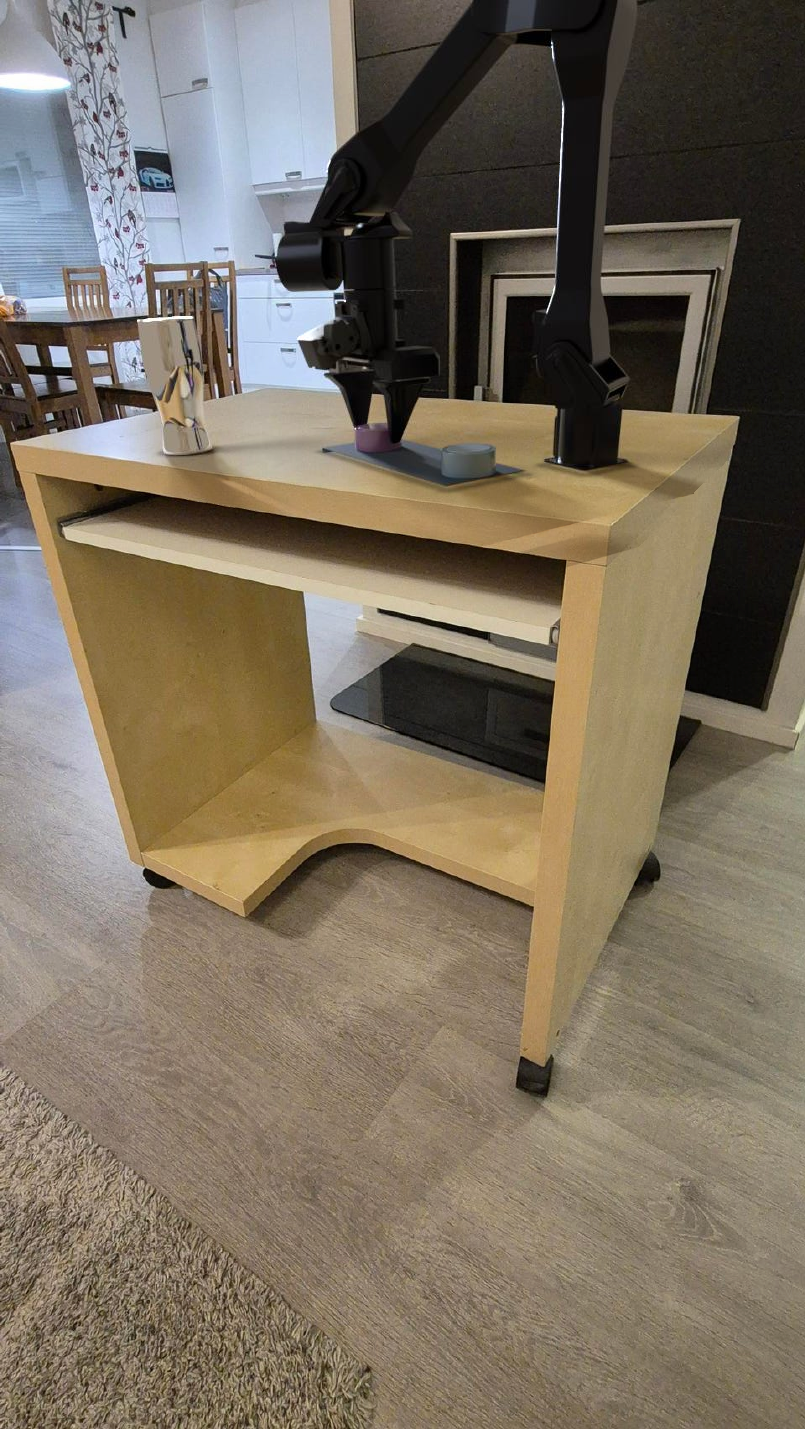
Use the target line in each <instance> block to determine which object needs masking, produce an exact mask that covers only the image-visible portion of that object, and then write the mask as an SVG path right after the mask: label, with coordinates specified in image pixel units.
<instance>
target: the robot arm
mask: <svg viewBox="0 0 805 1429" xmlns="http://www.w3.org/2000/svg"><path fill="white" fill-rule="evenodd" d="M637 19H638V2H637V0H471V2H470V4H469V5H468V7H466V9H465V10H464V11H463V13H462V14H461V15H460V17H459V18H458V19H457V21H456V22H455V23H454V25H453V26H452V27H451V28H450V30H449V31H448V32H447V33H446V35H445V36H444V38H443V39H442V40H441V42H440V43H439V44H438V45H437V47H435V49H434V50H433V52H432V53H431V54H430V55H429V57H428V59H427V60H426V61H425V62H424V64H423V65H422V66H421V67H420V69H419V70H418V71H417V72H416V73H415V75H414V76H413V78H412V79H411V80H410V81H409V83H408V85H406V86H405V88H404V89H403V90H402V92H401V93H400V94H399V96H398V97H397V98H396V100H395V101H394V103H393V104H392V105H391V106H390V108H389V109H387V111H386V112H385V113H384V114H383V115H382V116H380V117H379V118H378V119H377V120H375V121H373V122H372V123H370V124H368V125H366V126H365V127H363V128H361V129H360V130H358V131H357V132H356V133H355V134H353V135H352V136H351V137H350V138H349V139H348V140H347V141H346V142H345V143H344V144H343V145H341V147H339V148H338V149H337V150H336V151H335V152H334V154H333V155H332V156H331V158H330V159H329V162H328V164H327V168H326V174H327V179H326V183H325V185H324V188H323V190H322V192H321V195H320V197H319V198H318V201H317V203H316V205H315V208H314V209H313V213H312V215H311V217H310V220H309V221H306V222H305V221H292V220H291V221H284V222H283V235H282V236H281V238H280V239H279V242H278V245H277V249H276V255H275V258H274V259H275V261H274V262H275V268H276V273H277V276H278V278H279V281H280V283H281V285H282V286H283V287H284V288H285V290H287V291H289V292H291V293H297V292H298V293H299V292H300V293H301V292H303V293H304V292H326V291H328V292H329V291H336V290H338V289H339V288H340V287H341V285H342V287H343V300H336V304H335V306H334V307H335V308H334V310H335V317H334V318H332V319H330V320H328V321H326V322H323V323H321V324H319V325H318V326H315V327H314V328H312V329H311V330H308V331H306V332H305V333H303V334H301V335H299V336H298V337H297V343H298V345H299V347H300V351H301V353H302V355H303V358H304V360H305V362H306V365H307V367H308V368H309V369H312V368H314V369H315V370H318V371H320V370H321V371H328V372H323V373H322V375H323V376H324V378H326V379H328V380H329V381H331V382H332V383H333V384H334V385H335V386H337V388H338V389H339V391H340V393H341V397H342V398H343V401H344V404H345V406H346V409H347V413H348V415H349V418H350V422H351V424H352V426H353V428H354V427H356V426H359V425H363V424H368V421H369V417H370V416H369V415H370V410H371V405H372V404H371V403H372V398H373V391H374V386H375V388H376V389H377V390H378V391H379V392H380V393H381V395H382V396H383V401H384V407H385V408H384V409H385V415H386V423H387V424H388V431H389V436H390V441H391V443H393V444H395V443H399V442H400V441H401V439H402V438H403V436H404V434H405V431H406V429H407V427H408V424H409V421H410V419H411V416H412V414H413V412H414V409H415V407H416V405H417V402H418V401H419V398H420V396H421V395H422V392H423V391H424V388H425V386H426V385H427V384H429V383H431V377H437V376H440V375H441V355H440V354H439V353H438V352H437V350H436V349H435V348H434V347H432V346H419V345H410V346H406V339H398V312H397V311H398V310H405V298H397V289H396V263H395V262H396V261H395V260H396V258H395V240H403V239H411V238H412V237H413V235H414V232H413V230H412V229H411V228H410V227H409V226H408V225H407V224H405V222H404V221H403V220H402V219H401V218H400V216H399V213H398V212H393V210H394V208H395V207H396V205H397V204H398V202H399V200H400V199H401V197H402V196H403V194H404V192H406V189H407V187H408V186H409V184H410V182H411V181H412V179H413V175H414V173H415V169H416V166H417V163H418V160H419V158H420V156H421V155H422V153H423V152H424V150H425V148H426V147H427V146H428V145H429V144H430V142H431V141H432V140H433V139H434V137H435V136H436V135H437V134H438V132H440V130H441V129H442V128H443V127H444V125H445V124H446V123H447V122H448V121H449V119H450V118H451V117H452V116H453V115H454V114H455V112H456V111H457V110H458V109H459V107H460V106H461V105H463V103H464V102H465V100H466V99H467V98H468V97H469V96H470V94H471V93H472V92H473V91H474V90H475V89H476V88H477V86H478V85H479V84H480V83H481V81H482V80H483V79H484V78H485V76H486V75H487V74H488V73H489V72H490V71H491V69H493V67H494V66H495V64H496V63H497V62H498V61H499V59H501V57H502V56H503V55H504V54H505V52H506V51H507V50H508V49H509V48H510V47H511V46H529V47H539V48H547V49H551V52H552V61H553V67H554V70H555V75H556V80H557V85H558V88H559V93H560V98H561V104H562V120H561V121H562V122H561V142H560V161H559V162H560V163H559V164H560V165H559V184H558V185H559V186H558V187H559V188H558V206H557V208H558V209H557V230H556V251H555V270H554V271H555V272H554V287H553V292H552V295H551V297H550V300H549V304H548V307H547V308H545V309H540V310H534V311H533V312H532V322H531V323H532V329H533V330H532V331H533V344H532V347H531V350H530V354H529V358H531V359H533V358H535V367H536V372H537V374H538V377H539V378H541V380H542V381H543V382H544V384H545V385H546V386H548V387H549V390H550V393H551V398H552V401H553V406H554V407H555V409H556V415H555V417H554V427H553V442H552V443H553V446H552V456H553V457H547V458H544V459H543V462H544V463H548V464H552V465H557V466H562V467H565V468H569V469H575V470H578V471H583V472H584V471H587V472H588V471H592V470H596V469H601V468H602V469H603V468H606V467H611V466H615V465H621V464H626V463H628V462H629V459H627V458H622V457H619V449H620V439H621V428H622V418H623V408H624V404H623V403H619V402H618V401H617V400H620V399H622V398H623V397H624V394H625V392H626V390H627V387H628V386H629V383H630V380H631V379H630V376H629V375H628V374H627V373H626V371H625V370H624V369H623V368H622V367H621V365H620V364H618V362H617V361H616V359H615V358H614V357H613V356H612V355H611V342H610V330H609V329H610V328H609V318H608V314H607V309H606V304H605V299H604V295H603V290H602V269H603V255H604V254H603V253H604V240H605V227H606V225H605V224H606V212H607V201H608V187H609V186H608V185H609V171H610V160H611V159H610V158H611V146H612V145H611V144H612V142H611V141H612V130H613V114H614V107H615V103H616V99H617V96H618V93H619V90H620V87H621V84H622V81H623V78H624V75H625V73H626V70H627V67H628V62H629V57H630V54H631V48H632V44H633V39H634V35H635V30H636V26H637ZM376 217H382V218H381V219H380V220H379V221H373V220H374V218H376ZM346 230H351V233H350V234H345V231H346ZM369 368H370V369H369ZM376 375H377V377H378V379H379V380H378V379H377V380H375V379H376ZM402 440H403V439H402Z"/></svg>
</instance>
